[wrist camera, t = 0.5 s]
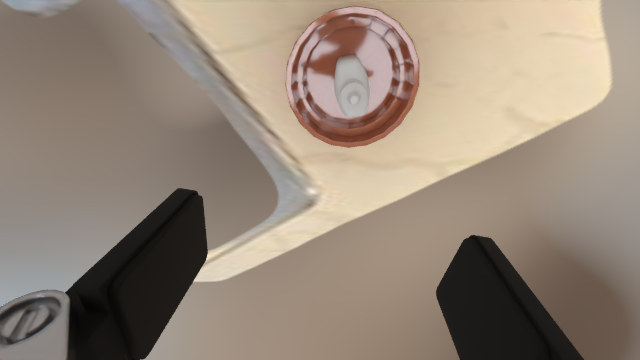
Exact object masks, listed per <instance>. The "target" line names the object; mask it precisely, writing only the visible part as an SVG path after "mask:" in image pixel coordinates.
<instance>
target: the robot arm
mask: <svg viewBox="0 0 640 360" xmlns="http://www.w3.org/2000/svg"><path fill="white" fill-rule="evenodd" d="M207 254H208V249H207V239H206V229H205V217H204V207H203V198H202V196H199V195H198V192H197V191H194V190H188V189H182V188H178V189H177V190H175V191H174V192H173V193H172V194H171V195H170V196H169V197H168V198H167V199H166V200H165V201H163V202H162V203H161V204H160V205H159V206H158V207H157V208H156V209H155V210H154V211H153V212H151V213H150V214H149V215H148V216H147V217H146V218H145V219H144V220H143V221H142V222H141V223H140V224H138V225H137V226H136V227H135V228H134V229H133V230H132V231H131V232H130V233H129V234H128V235H126V236H125V237H124V238H123V239H122V240H121V241H120V242H119V243H118V244H117V245H116V246H115V247H113V248H112V249H111V250H110V251H109V252H108V253H107V254H106V255H105V256H104V257H103V258H102V259H100V260H99V261H98V262H97V263H96V264H95V265H94V266H93V267H92V268H91V269H89V270H88V271H87V272H86V273H85V274H84V275H83V276H82V277H81V278H80V279H79V280H77V282H75V283H74V284H73V286H72V287H71V288H70V289H69V290H68V291H67V292H65V293H64V292H62V291H58V290H42V291H37V292H33V293H29V294H26V295H24V296H21V297H19V298H16V299H14V300H12V301H10V302H8V303H6V304H5V305H3V306H1V307H0V360H140V359H145V358H146V357H147V356H148V354H149V353H150V352H151V350H152V348H153V347H154V345H155V343H156V342H157V340H158V338H159V337H160V335H161V333H162V332H163V330H164V329H165V326H166V325H167V323H168V322H169V320H170V319H171V317H172V315H173V314H174V312H175V310H176V309H177V307H178V305H179V304H180V302H181V300H182V299H183V297H184V296H185V294H186V292H187V291H188V289H189V287H190V286H191V284H192V282H193V281H194V279H195V277H196V276H197V274H198V272H199V271H200V269H201V267H202V266H203V264H204V263H205V261H206V258H207ZM436 296H437V300H438V302H439V305H440V308H441V310H442V313H443V316H444V318H445V321H446V323H447V326H448V329H449V332H450V334H451V337H452V340H453V342H454V345H455V347H456V350H457V353H458V355H459V358H460V360H584V359H583V358H582V356H581V355H580V354H579V353H578V351H577V350H576V349H575V347H574V346H573V345H572V343H571V342H570V341H569V339H568V338H567V337H566V335H565V334H564V333H563V331H562V330H561V329H560V328H559V326H558V325H557V324H556V322H555V321H554V320H553V318H552V317H551V316H550V314H549V313H548V312H547V311H546V309H545V308H544V307H543V305H542V304H541V303H540V301H539V300H538V299H537V297H536V296H535V295H534V294H533V292H532V291H531V290H530V288H529V287H528V286H527V284H526V283H525V282H524V281H523V279H522V278H521V276H520V275H519V274H518V272H517V271H516V270H515V269H514V267H513V266H512V265H511V263H510V262H509V261H508V259H507V258H506V257H505V255H504V254H503V253H502V252H501V250H500V249H499V248H498V246H497V245H496V244H495V242H494V241H493V240H492V239H491V238H488V237H482V236H475V235H471V236H470V237H469V238H466V239H464V240H463V242H462V244H461V246H460V247H459V249H458V251H457V253H456V255H455V256H454V258H453V260H452V262H451V264H450V265H449V267H448V269H447V271H446V273H445V274H444V276H443V278H442V280H441V282H440V284H439V286H438V287H437V290H436Z"/></svg>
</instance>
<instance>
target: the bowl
mask: <svg viewBox="0 0 640 360" xmlns="http://www.w3.org/2000/svg"><path fill="white" fill-rule="evenodd" d="M350 54H354V55H356V56H357V57H358V59H359V60H360V61H361V63H362V65H363V67H364V69H365V71H366V74H367V77H368V80H369V86H370V99H369V104H368V108H367V111H366V113H365V114H364V115H362V116H359V117H353V118H348V117H346V116H345V115H344V114H343V112H342V110H341V109H340V107H339V104H338V102H337V99H336V95H335V87H334V79H335V70H336V64H337V60H338V58H339V57H341V56H345V55H350ZM418 87H419V60H418V57H417V53H416V50H415V47H414V44H413V41H412V39H411V38H410V37H409V35H408V34H407V33H406V31H405V30H404V29H403V28H402V26H401V25H400V24H399V22H397V21H396V20H394V19H393V18H391V17H389V16H388V15H386V14H385V13H383V12H381V11H380V10H377V9H372V8H366V7H360V6H350V7H346V8H341V9H336V10H332V11H330V12H328V13H326V14H325V15H323V16H322V17H320V18H319V19H317V20H315V21H314V22H312V23H311V24H310V25H309V26H308V27H307V29H306V30H305V31H304V32H303V34H302V35H301V36H300V37H299V39H298V40H297V41H296V43H295V45H294V48H293V50H292V53H291V55H290V58H289V60H288V63H287V73H286V90H287V94H288V99H289V103H290V107H291V109H292V110H293V112H294V114H295V116H296V117H297V119H298V121H299V123H300V124H301V125H302V126H303V127H304V128H305V129H306V130H307V131H308V132H310V133H311V134H312V135H313V136H314V137H316V138H318V139H320V140H322V141H324V142H326V143H328V144H331V145H335V146H342V147H348V148H349V147H357V146H364V145H368V144H371V143H373V142H375V141H377V140H380V139H382V138H384V137H386V136H387V135H388V134H389V133H390V132H392V131H393V130H394V129H395V128H396V127H398V126H399V125H400V124H401V123H402V121H403V120H404V118H405V117H406V115H407V114H408V112H409V111H410V109H411V108H412V106H413V103H414V100H415V96H416V93H417V90H418Z"/></svg>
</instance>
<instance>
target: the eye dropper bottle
mask: <svg viewBox="0 0 640 360" xmlns="http://www.w3.org/2000/svg"><path fill="white" fill-rule="evenodd" d="M334 87H335V95H336V99H337V102H338V104H339V107H340V109H341V110H342V112H343V114H344V115H345V116H346V117H348V118H353V117H359V116H362V115H364V114H365V113H366V111H367V108H368V104H369V99H370V86H369V80H368V77H367V74H366V71H365V69H364V67H363V65H362V63H361V61H360V60H359V59H358V57H357V56H356V55H354V54H350V55H345V56H341V57H339V58H338V60H337V64H336V70H335V79H334Z"/></svg>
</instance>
